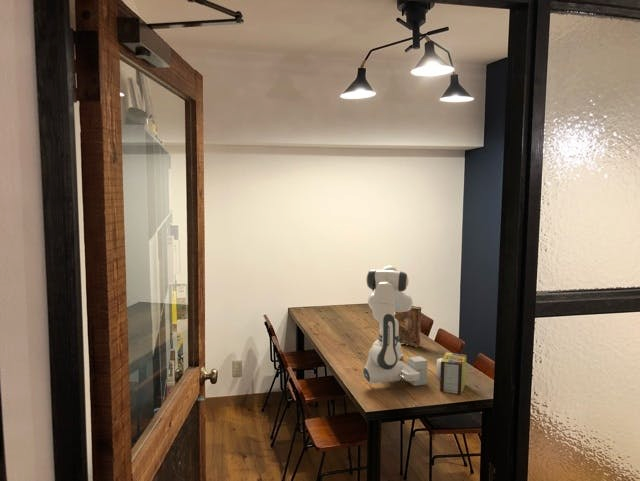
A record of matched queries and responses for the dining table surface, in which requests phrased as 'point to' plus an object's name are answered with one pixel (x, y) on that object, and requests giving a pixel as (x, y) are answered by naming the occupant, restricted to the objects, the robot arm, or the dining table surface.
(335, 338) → the dining table surface
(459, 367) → the protein box
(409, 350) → the dining table surface
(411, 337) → the book
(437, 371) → the off-white mug
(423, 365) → the supplement box
